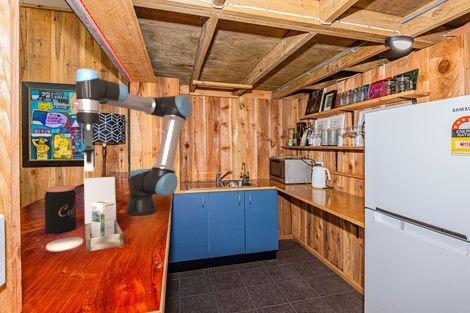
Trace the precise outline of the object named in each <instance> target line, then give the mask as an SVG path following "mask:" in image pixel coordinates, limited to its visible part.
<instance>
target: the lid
mask: <svg viewBox="0 0 470 313" xmlns="http://www.w3.org/2000/svg"><path fill="white" fill-rule="evenodd" d="M115 177H116V176H108V177H107V176H104V177H100V176H99V177H85V178H83V185H84V186H83V188H84V190H83V192H84V193H83V196H84V225H87V224H92V203H94V202H97V201H110V202H114V221H117V204H116V203H117V202H116V178H115Z"/></svg>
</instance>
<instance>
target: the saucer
mask: <svg viewBox="0 0 470 313" xmlns="http://www.w3.org/2000/svg"><path fill="white" fill-rule="evenodd" d="M83 244H84V239H83V237H79V236H70V237H69V236H68V237H62V238H59V239H54V240H52V241H50V242H48V243H47V244H46V245H45V249H46V251H49V252H63V251H69V250H72V249H76V248H78V247H80V246H82V245H83Z"/></svg>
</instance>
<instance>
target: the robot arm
mask: <svg viewBox="0 0 470 313" xmlns="http://www.w3.org/2000/svg"><path fill="white" fill-rule="evenodd" d="M74 82H75V100H76V101H75V102H74V103H73V104H74V106H76V109H75V110H76V111H77V112H76V114H75V116H76V117H75V118H76V123H79V124H84V125H83V127H82V128H81V131H82V132H81V133H82V138H83V140H84V147H83V149H81V153H83V155H84V157H83V160H84V162H83V164H84V166H83V167H84V170H83V171H84V172H94V151H95V148H94V146H93V145H94V144H93V141H94V140H93V139H94V137H95V128H94V126H93V125H96V124H98V125H99V123H100V122H101V121H100V118H101V117H100V115H101V114H99V113H100V111H101V109H100V108H101V106H100V105H104V106H105V105H106V106H110V107H116V108H121V109H128V110H133V111H139V112H143V113H144V114H146V115H150V116H155V117H159V118H163V119H164V120H165V122H164V128H163V133H162V136H161V141H160V146H159V149H158V150H159V151H158V154H157V159H156V163H155V165H153V166H152V167H151V168H143V169H142V168H141V169H133V170H132V169H131V171H130V172H129V200H128V203H127V204H126V207H125V208H126V209H125V213H126V215H128V216H146V215H151V214H154V213H156V212H157V205H156V202H155V200H154V196H159V197H168V196H171V195H172V194H173V193H174V192H175V191H176V190H177V189H178V188H177V187H178V184H179V180H178V176H177V175H176V170H175V169H174V165H175V159H176V154H177V150H178V144H179V140H180V135H181V131H182V126H183V124H186V119H187V118H188V117H189V118H190V116H191V115H192V113H193V106H192V105H193V104H192V102H191V100H190V98H188V96H186V95H183V94H177V95H168V96H147V97H146V96H140V95H137V94H132V93H129V89H128V88H127V86H126V85H125V84H122V83H120V82H114V81H111V80H106V79H103V78H100V73H99V71H96V70H95V69H90V68H78V69H77V70H76V72H75V80H74Z"/></svg>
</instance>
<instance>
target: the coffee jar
mask: <svg viewBox="0 0 470 313" xmlns="http://www.w3.org/2000/svg"><path fill="white" fill-rule="evenodd" d="M43 189H44V190H43V191H44V192H45V193H44V231H45V232H46V233H47V234H49V235H58V234H65V232H66V233H69V232H71V230H72V231H73V230H75V228H76V227H77V205H76V204H77V201H76V199H77V198H76V197H77V196H76V195H77V194H76V192H77V191H75V190H76V185H67V184H66V185H53V186H47V187H44V188H43ZM68 231H69V232H68Z"/></svg>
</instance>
